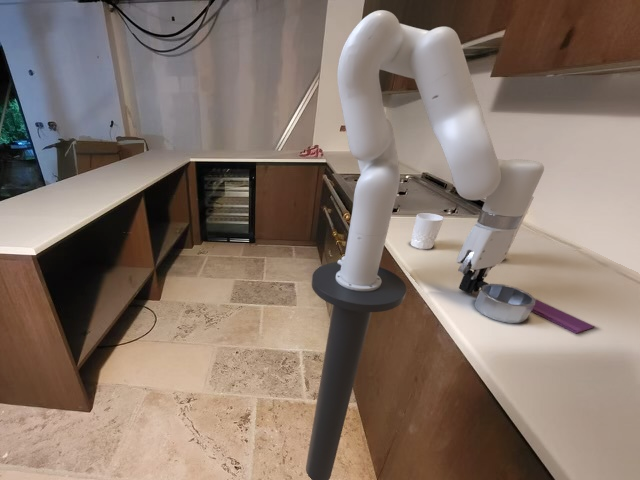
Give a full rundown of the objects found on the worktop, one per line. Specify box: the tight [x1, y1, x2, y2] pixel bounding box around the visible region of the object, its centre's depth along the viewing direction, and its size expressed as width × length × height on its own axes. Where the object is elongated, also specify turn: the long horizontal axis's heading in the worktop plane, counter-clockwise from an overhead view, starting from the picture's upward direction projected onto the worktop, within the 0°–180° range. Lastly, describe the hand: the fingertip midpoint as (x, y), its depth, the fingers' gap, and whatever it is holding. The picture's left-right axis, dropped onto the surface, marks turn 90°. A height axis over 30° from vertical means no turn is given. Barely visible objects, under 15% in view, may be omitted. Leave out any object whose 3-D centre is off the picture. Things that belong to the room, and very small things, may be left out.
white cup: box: [410, 212, 445, 250], centre depth 106 cm, size 8×8×10 cm
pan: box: [474, 278, 537, 324], centre depth 76 cm, size 15×10×5 cm, turn 20°
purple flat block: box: [530, 299, 595, 334], centre depth 73 cm, size 12×6×1 cm, turn 20°
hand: (468, 290), depth 82 cm, fingers closed on pan, 1 cm apart
